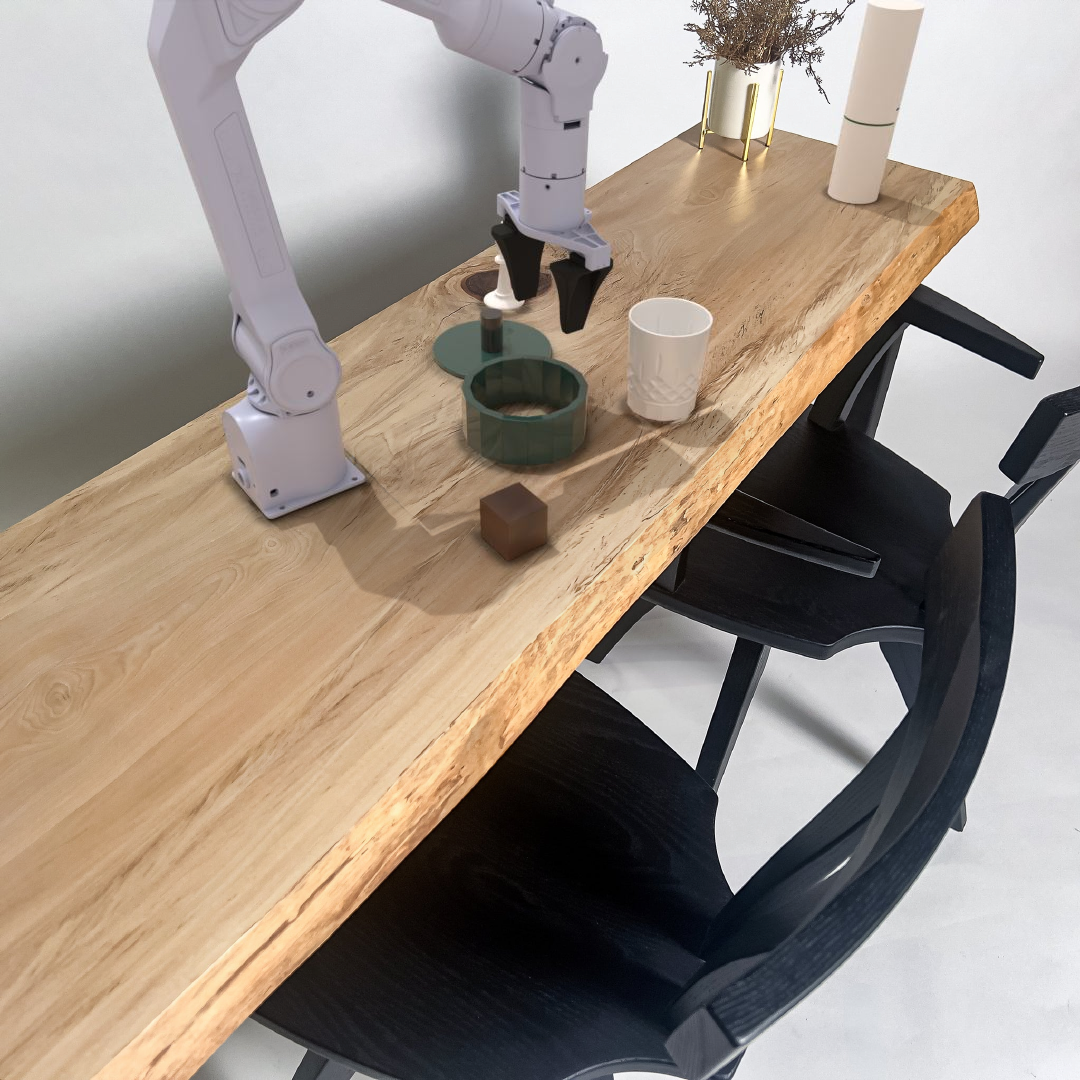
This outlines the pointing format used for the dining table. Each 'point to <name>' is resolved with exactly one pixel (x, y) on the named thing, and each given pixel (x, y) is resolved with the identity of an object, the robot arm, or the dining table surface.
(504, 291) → the chess piece
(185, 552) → the dining table surface
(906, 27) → the cylindrical container
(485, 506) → the block
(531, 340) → the lid
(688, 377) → the white cup
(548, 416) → the crock
